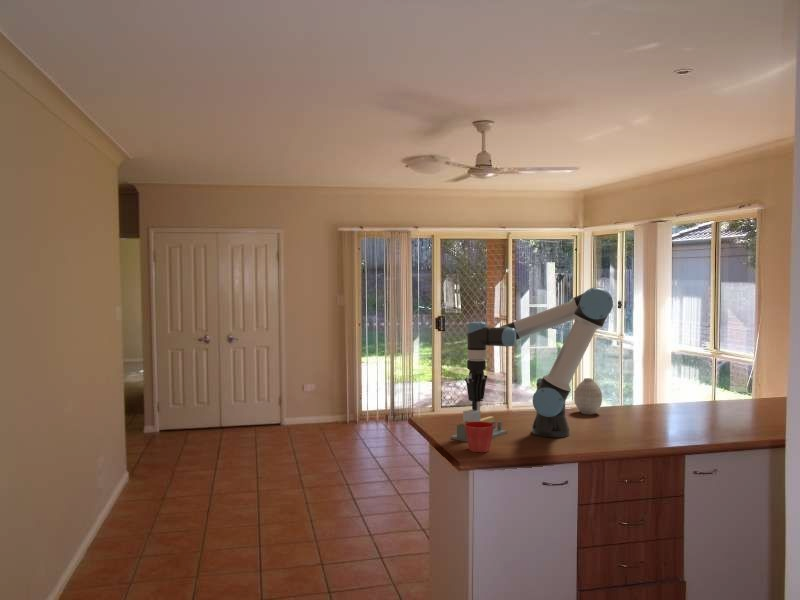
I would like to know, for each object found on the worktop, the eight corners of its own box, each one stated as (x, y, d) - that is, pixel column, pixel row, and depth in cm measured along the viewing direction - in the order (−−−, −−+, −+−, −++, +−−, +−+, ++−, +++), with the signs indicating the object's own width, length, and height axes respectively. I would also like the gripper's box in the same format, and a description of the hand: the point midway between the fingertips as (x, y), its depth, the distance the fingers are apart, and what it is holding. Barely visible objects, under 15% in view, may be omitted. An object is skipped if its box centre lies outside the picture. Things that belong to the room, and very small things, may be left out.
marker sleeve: (480, 430, 257) (480, 410, 257) (473, 433, 254) (473, 412, 253) (470, 429, 261) (470, 409, 261) (463, 431, 257) (463, 411, 257)
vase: (605, 416, 298) (605, 380, 298) (578, 415, 299) (578, 380, 298) (597, 410, 311) (597, 376, 311) (571, 410, 311) (571, 376, 311)
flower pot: (462, 446, 243) (462, 421, 243) (490, 445, 244) (490, 420, 244) (467, 453, 233) (467, 427, 232) (496, 453, 234) (497, 427, 233)
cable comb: (506, 433, 264) (507, 416, 264) (475, 443, 247) (475, 426, 247) (482, 428, 272) (482, 412, 272) (450, 438, 255) (450, 421, 255)
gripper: (477, 357, 266) (477, 413, 267) (459, 360, 256) (459, 418, 257) (493, 359, 261) (492, 416, 262) (475, 362, 251) (474, 421, 252)
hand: (476, 417), depth 260 cm, fingers closed
